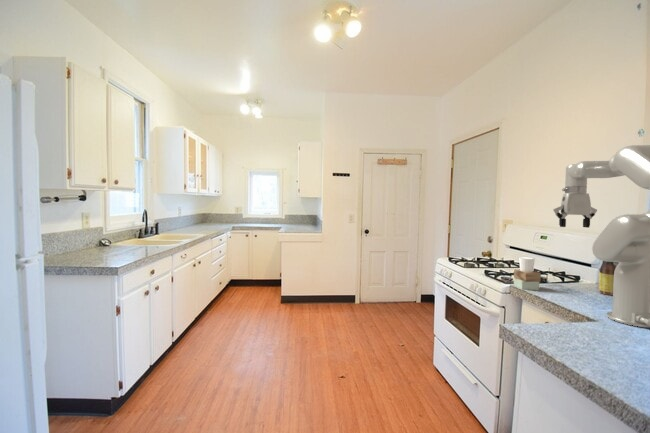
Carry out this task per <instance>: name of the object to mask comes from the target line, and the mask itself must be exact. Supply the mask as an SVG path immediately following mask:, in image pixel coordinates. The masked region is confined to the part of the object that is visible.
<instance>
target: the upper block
mask: <svg viewBox="0 0 650 433" xmlns="http://www.w3.org/2000/svg"><path fill="white" fill-rule="evenodd" d="M541 274H542V273H541V272H538V271H536V270H533V272H523V271H520V269H514V271H513V279H514V278H516V279H519V280H522V281H525V282H539V283H540V282H541V279H542V278H541V276H542V275H541Z"/></svg>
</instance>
